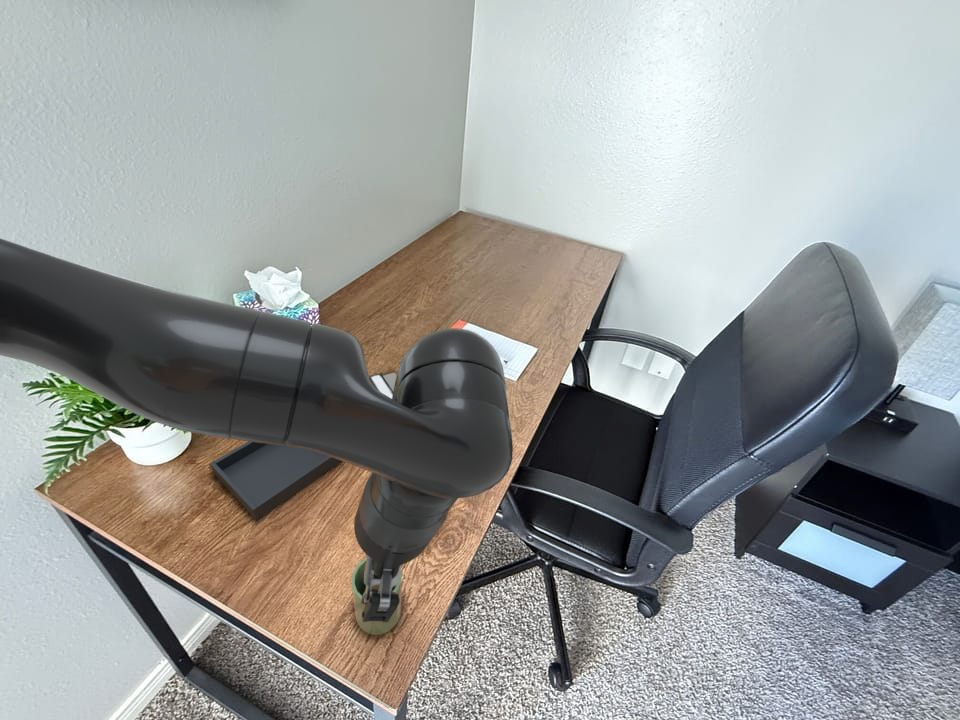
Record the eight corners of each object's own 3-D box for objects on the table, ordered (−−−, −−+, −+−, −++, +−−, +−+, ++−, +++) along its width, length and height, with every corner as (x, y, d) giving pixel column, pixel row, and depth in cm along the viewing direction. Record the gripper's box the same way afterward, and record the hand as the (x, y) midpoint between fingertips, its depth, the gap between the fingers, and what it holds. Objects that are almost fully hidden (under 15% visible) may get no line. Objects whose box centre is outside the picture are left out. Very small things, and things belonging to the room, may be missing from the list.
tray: (256, 521, 76) (252, 510, 74) (213, 474, 82) (209, 463, 80) (343, 460, 87) (342, 449, 85) (300, 423, 93) (298, 412, 91)
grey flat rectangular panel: (394, 372, 108) (394, 358, 106) (446, 446, 93) (447, 431, 90) (333, 390, 101) (331, 375, 99) (377, 473, 86) (376, 458, 83)
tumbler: (376, 645, 64) (374, 613, 57) (346, 613, 66) (341, 579, 60) (410, 609, 68) (411, 575, 62) (380, 580, 71) (379, 545, 64)
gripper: (369, 432, 45) (350, 497, 57) (348, 592, 36) (331, 630, 48) (444, 441, 47) (411, 502, 59) (442, 596, 38) (403, 631, 50)
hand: (375, 560), depth 53 cm, fingers open, 8 cm apart
